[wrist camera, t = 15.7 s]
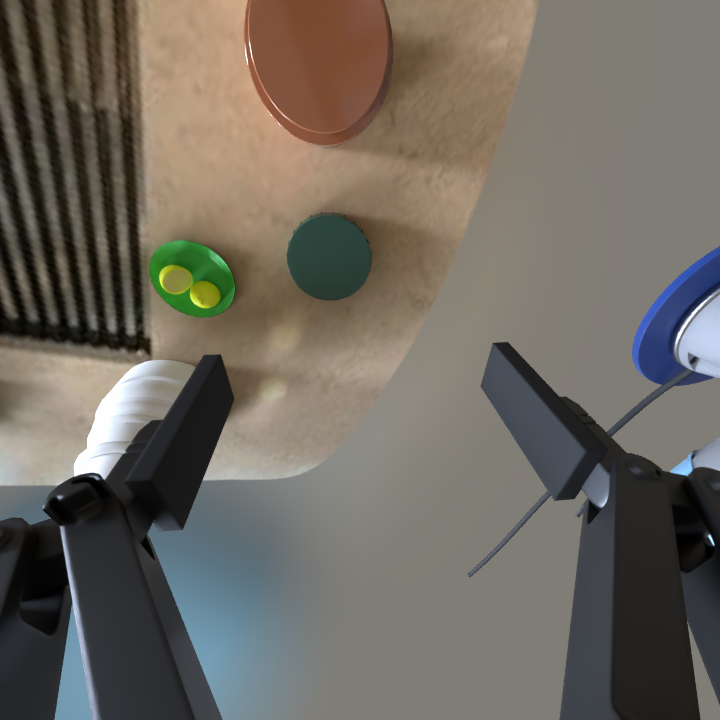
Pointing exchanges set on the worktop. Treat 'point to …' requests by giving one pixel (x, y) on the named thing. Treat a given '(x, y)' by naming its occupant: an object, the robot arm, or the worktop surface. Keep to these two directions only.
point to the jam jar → (320, 64)
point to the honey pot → (131, 411)
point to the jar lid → (329, 256)
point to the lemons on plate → (192, 278)
